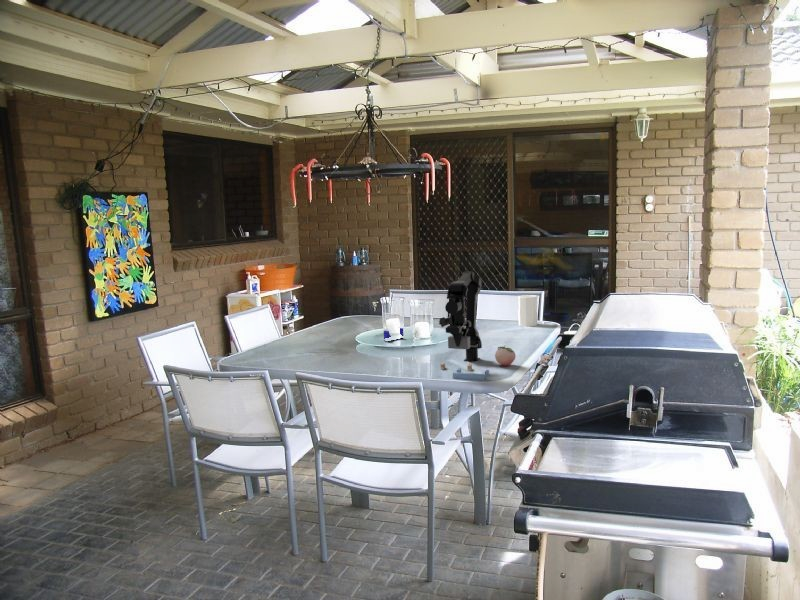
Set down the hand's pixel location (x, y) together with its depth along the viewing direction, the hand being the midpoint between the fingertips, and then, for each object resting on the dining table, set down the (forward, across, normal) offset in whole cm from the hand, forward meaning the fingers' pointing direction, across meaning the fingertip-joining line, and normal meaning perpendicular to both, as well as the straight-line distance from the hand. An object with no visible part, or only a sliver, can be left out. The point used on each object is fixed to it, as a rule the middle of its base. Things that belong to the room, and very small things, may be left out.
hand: (459, 345), depth 277 cm
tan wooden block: (+12, -2, -2) cm, 12 cm away
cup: (+11, -114, +6) cm, 115 cm away
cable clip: (+12, -60, -60) cm, 85 cm away
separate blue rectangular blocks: (+12, +6, +8) cm, 15 cm away
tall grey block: (+1, 0, 0) cm, 1 cm away
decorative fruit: (+12, -13, +17) cm, 24 cm away
